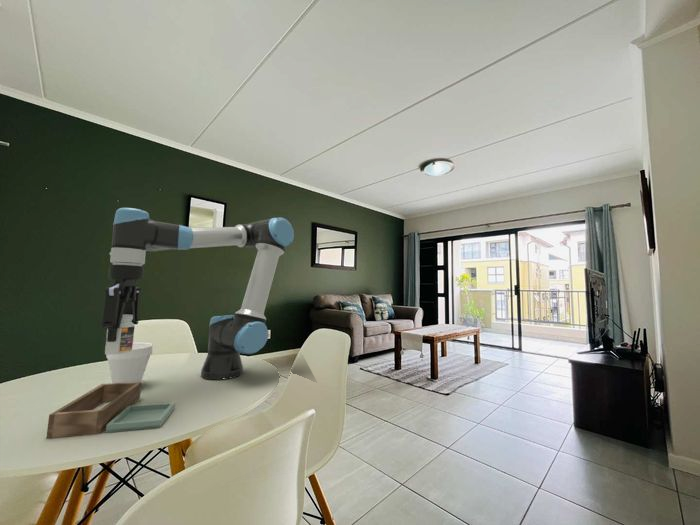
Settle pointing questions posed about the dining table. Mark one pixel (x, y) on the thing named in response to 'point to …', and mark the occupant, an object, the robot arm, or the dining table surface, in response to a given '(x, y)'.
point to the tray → (140, 417)
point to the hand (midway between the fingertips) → (118, 351)
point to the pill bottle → (126, 334)
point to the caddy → (87, 421)
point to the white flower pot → (130, 363)
